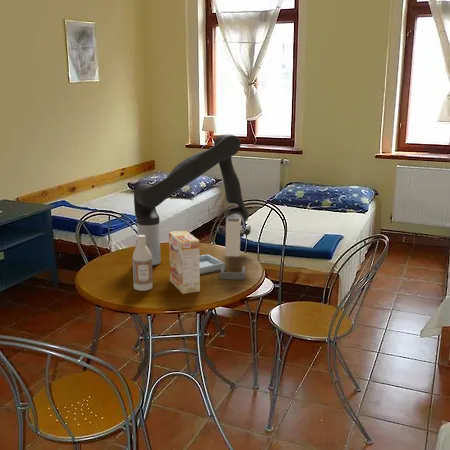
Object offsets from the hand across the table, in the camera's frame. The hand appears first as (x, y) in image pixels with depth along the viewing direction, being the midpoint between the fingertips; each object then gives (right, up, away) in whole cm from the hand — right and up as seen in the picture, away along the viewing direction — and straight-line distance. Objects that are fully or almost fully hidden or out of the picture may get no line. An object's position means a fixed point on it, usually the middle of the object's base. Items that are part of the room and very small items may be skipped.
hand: (233, 234), depth 213 cm
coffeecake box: (-18, -19, -9) cm, 28 cm away
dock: (0, -16, +3) cm, 16 cm away
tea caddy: (0, -8, +5) cm, 9 cm away
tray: (-13, -14, +12) cm, 22 cm away
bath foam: (-33, -20, -11) cm, 40 cm away
